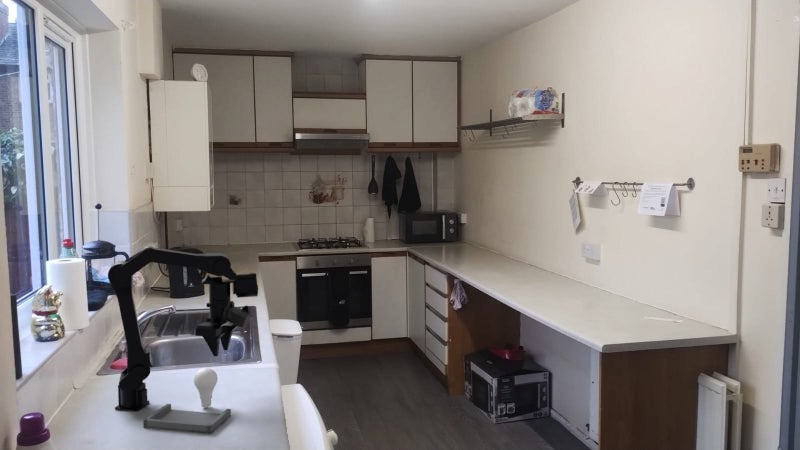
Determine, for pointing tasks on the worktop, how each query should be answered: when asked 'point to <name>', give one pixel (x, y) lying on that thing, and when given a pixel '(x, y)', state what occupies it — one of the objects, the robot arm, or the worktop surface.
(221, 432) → the worktop surface
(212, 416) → the tray
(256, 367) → the worktop surface
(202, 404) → the lightbulb
